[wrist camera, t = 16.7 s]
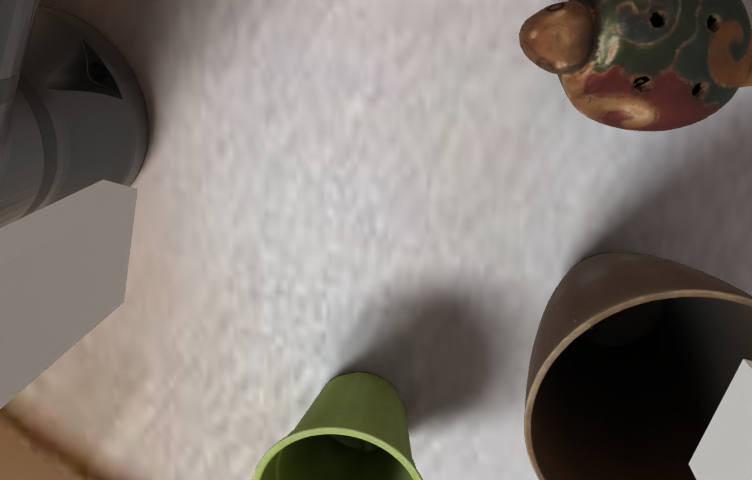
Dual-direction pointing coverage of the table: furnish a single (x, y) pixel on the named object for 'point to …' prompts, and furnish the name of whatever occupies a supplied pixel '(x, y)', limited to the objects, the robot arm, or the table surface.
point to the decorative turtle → (644, 57)
